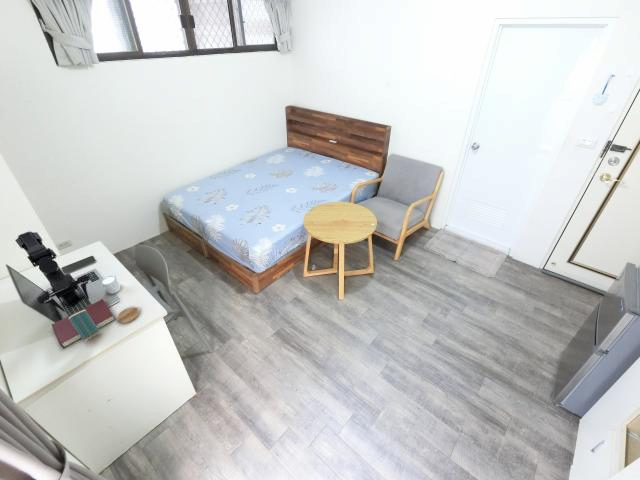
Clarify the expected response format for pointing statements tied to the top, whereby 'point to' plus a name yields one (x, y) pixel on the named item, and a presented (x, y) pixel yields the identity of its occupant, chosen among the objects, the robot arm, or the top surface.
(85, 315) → the pencil cup
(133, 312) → the coaster
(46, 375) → the top surface
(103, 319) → the book
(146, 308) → the top surface
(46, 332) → the top surface
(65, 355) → the top surface
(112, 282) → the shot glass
